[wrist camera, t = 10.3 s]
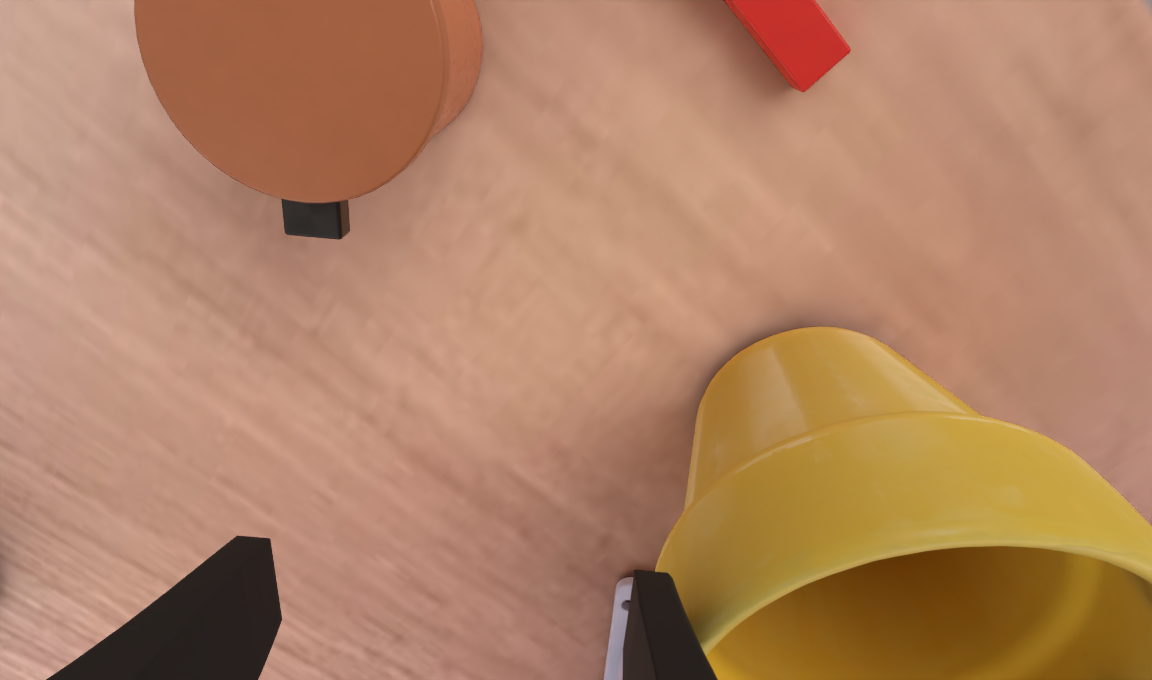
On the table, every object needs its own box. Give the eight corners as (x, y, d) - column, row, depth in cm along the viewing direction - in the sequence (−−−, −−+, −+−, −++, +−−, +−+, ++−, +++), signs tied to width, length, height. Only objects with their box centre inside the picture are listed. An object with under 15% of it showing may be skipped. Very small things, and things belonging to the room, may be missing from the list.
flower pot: (732, 581, 25) (804, 905, 17) (568, 382, 21) (552, 677, 13) (1022, 456, 22) (1289, 774, 14) (895, 195, 18) (1165, 418, 10)
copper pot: (487, 189, 19) (444, 255, 14) (284, 171, 19) (169, 230, 14) (494, -120, 16) (443, -179, 11) (253, -142, 16) (90, -211, 11)
